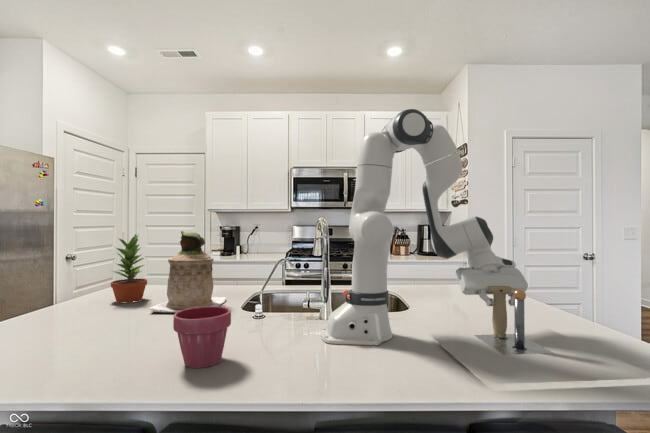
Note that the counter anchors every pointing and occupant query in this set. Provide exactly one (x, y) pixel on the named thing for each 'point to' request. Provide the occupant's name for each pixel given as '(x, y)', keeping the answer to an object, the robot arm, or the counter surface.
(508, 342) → the plate
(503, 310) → the handle
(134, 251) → the potted plant
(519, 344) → the lever with round knob
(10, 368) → the counter surface
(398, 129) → the robot arm
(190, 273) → the cookie jar
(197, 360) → the plant pot
